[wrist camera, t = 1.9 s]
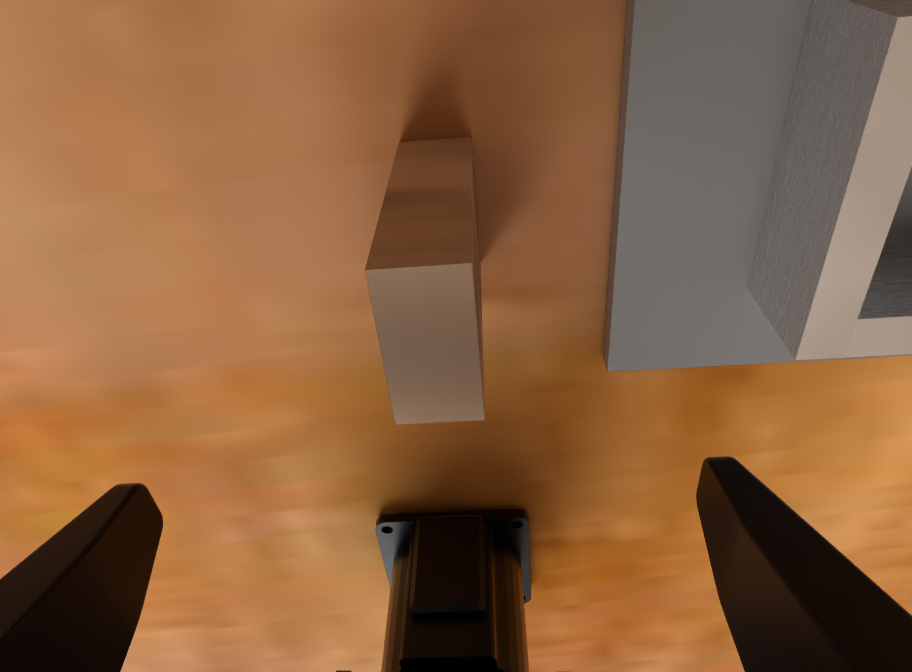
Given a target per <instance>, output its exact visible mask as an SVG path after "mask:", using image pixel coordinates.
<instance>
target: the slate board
mask: <svg viewBox="0 0 912 672" xmlns="http://www.w3.org/2000/svg"><path fill="white" fill-rule="evenodd" d="M809 5H810V0H627V13H626V28H625V43H624V58H623V73H622V88H621V103H620V117H619V132H618V147H617V162H616V177H615V192H614V207H613V221H612V236H611V251H610V266H609V281H608V296H607V311H606V325H605V340H604V355H603V358H604V361H605V365H606V368H607V372H616V371H634V370H652V369H671V368H689V367H707V366H726V365H744V364H762V363H781V362H799V361H817V360H836V359H854V358H872V357H891V356H909V355H912V354H902V355H884V356H865V357H847V358H829V359H810V360H795V359H794V358H793V356H792V355H791V353H790V352H789V350H788V349H787V347H786V346H785V344H784V343H783V341H782V340H781V338H780V337H779V335H778V334H777V332H776V331H775V329H774V328H773V326H772V325H771V324H770V322H769V321H768V319H767V318H766V316H765V315H764V313H763V312H762V310H761V309H760V307H759V306H758V304H757V303H756V301H755V300H754V298H753V297H752V295H751V294H750V292H749V291H748V289H747V285H748V280H749V276H750V271H751V267H752V262H753V258H754V253H755V249H756V244H757V240H758V235H759V231H760V226H761V222H762V217H763V213H764V208H765V204H766V199H767V195H768V190H769V186H770V181H771V177H772V172H773V167H774V163H775V158H776V154H777V149H778V145H779V140H780V136H781V131H782V127H783V122H784V118H785V113H786V109H787V104H788V100H789V95H790V91H791V86H792V82H793V77H794V73H795V68H796V64H797V59H798V54H799V50H800V45H801V41H802V36H803V32H804V27H805V23H806V18H807V14H808V9H809ZM905 243H912V167H911V170H910V173H909V176H908V178H907V181H906V184H905V187H904V190H903V192H902V195H901V198H900V201H899V204H898V206H897V209H896V212H895V215H894V218H893V221H892V223H891V226H890V229H889V232H888V235H887V237H886V240H885V243H884V245H890V244H905Z"/></svg>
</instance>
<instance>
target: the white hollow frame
mask: <svg viewBox="0 0 912 672" xmlns="http://www.w3.org/2000/svg"><path fill="white" fill-rule="evenodd" d="M911 167H912V0H810V5H809V9H808V14H807V18H806V23H805V27H804V32H803V36H802V41H801V45H800V50H799V54H798V59H797V64H796V68H795V73H794V77H793V82H792V86H791V91H790V95H789V100H788V104H787V109H786V113H785V118H784V122H783V127H782V131H781V136H780V140H779V145H778V149H777V154H776V158H775V163H774V167H773V172H772V177H771V181H770V186H769V190H768V195H767V199H766V204H765V208H764V213H763V217H762V222H761V226H760V231H759V235H758V240H757V244H756V249H755V253H754V258H753V262H752V267H751V271H750V276H749V280H748V285H747V289H748V291H749V292H750V294H751V295H752V297H753V298H754V300H755V301H756V303H757V304H758V306H759V307H760V309H761V310H762V312H763V313H764V315H765V316H766V318H767V319H768V321H769V322H770V324H771V325H772V326H773V328H774V329H775V331H776V332H777V334H778V335H779V337H780V338H781V340H782V341H783V343H784V344H785V346H786V347H787V349H788V350H789V352H790V353H791V355H792V356H793V358H794V359H795V360H810V359H829V358H847V357H865V356H884V355H902V354H912V243H905V244H890V245H884V243H885V240H886V237H887V235H888V232H889V229H890V226H891V223H892V221H893V218H894V215H895V212H896V209H897V206H898V204H899V201H900V198H901V195H902V192H903V190H904V187H905V184H906V181H907V178H908V176H909V173H910V170H911Z"/></svg>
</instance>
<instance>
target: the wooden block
mask: <svg viewBox="0 0 912 672" xmlns="http://www.w3.org/2000/svg"><path fill="white" fill-rule="evenodd" d="M365 273H366V278H367V283H368V288H369V293H370V298H371V303H372V308H373V313H374V319H375V324H376V329H377V334H378V339H379V344H380V349H381V354H382V359H383V364H384V369H385V374H386V379H387V384H388V389H389V394H390V399H391V404H392V409H393V414H394V419H395V424H396V425H398V424H418V423H438V422H458V421H478V420H485V415H484V377H483V340H482V302H481V264H480V250H479V236H478V222H477V208H476V194H475V181H474V167H473V153H472V139H471V136H470V137H457V138H444V139H432V140H419V141H407V142H399V145H398V149H397V152H396V156H395V160H394V164H393V167H392V171H391V175H390V179H389V182H388V186H387V190H386V193H385V197H384V201H383V205H382V208H381V212H380V216H379V220H378V223H377V227H376V231H375V234H374V238H373V242H372V246H371V249H370V253H369V257H368V261H367V264H366V268H365Z"/></svg>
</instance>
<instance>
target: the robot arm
mask: <svg viewBox="0 0 912 672" xmlns="http://www.w3.org/2000/svg"><path fill="white" fill-rule="evenodd" d="M696 500H697V507H698V512H699V516H700V520H701V525H702V529H703V533H704V537H705V541H706V546H707V550H708V554H709V558H710V563H711V567H712V571H713V575H714V580H715V584H716V588H717V592H718V596H719V600H720V603H721V606H722V609H723V612H724V615H725V618H726V620H727V623H728V626H729V629H730V632H731V634H732V637H733V640H734V643H735V645H736V648H737V651H738V654H739V657H740V659H741V662H742V665H743V668H744V671H745V672H912V615H911V614H909V613H908V612H907V611H906V610H905V609H904V608H903V607H902V606H900V605H899V604H898V603H897V602H896V601H895V600H894V599H893V598H891V597H890V596H889V595H888V594H887V593H886V592H885V591H884V590H882V589H881V588H880V587H879V586H878V585H877V584H876V583H875V582H873V581H872V580H871V579H870V578H869V577H868V576H867V575H866V574H864V573H863V572H862V571H861V570H860V569H859V568H858V567H857V566H855V565H854V564H853V563H852V562H851V561H850V560H849V559H848V558H846V557H845V556H844V555H843V554H842V553H841V552H840V551H839V550H837V549H836V548H835V547H834V546H833V545H832V544H831V543H830V542H828V541H827V540H826V539H825V538H824V537H823V536H822V535H821V534H819V533H818V532H817V531H816V530H815V529H814V528H813V527H812V526H810V525H809V524H808V523H807V522H806V521H805V520H804V519H803V518H801V517H800V516H799V515H798V514H797V513H796V512H795V511H794V510H792V509H791V508H790V507H789V506H788V505H787V504H786V503H785V502H783V501H782V500H781V499H780V498H779V497H778V496H777V495H776V494H774V493H773V492H772V491H771V490H770V489H769V488H768V487H766V486H765V485H764V484H763V483H762V482H761V481H760V480H759V479H757V478H756V477H755V476H754V475H753V474H752V473H751V472H750V471H748V470H747V469H746V468H745V467H744V466H743V465H742V464H741V463H739V462H738V461H737V460H736V459H734V458H732V457H708V458H706V459H705V460H704V461H703V464H702V468H701V473H700V478H699V483H698V487H697V493H696ZM162 528H163V518H162V514H161V512H160V510H159V508H158V506H157V505H156V503H155V501H154V499H153V497H152V496H151V494H150V492H149V490H148V489H147V487H146V486H145V485H143V484H142V483H127V484H118V485H116V486H114V487H113V488H111V489H110V490H109V491H107V492H106V493H105V494H104V495H103V496H101V497H100V498H99V499H98V500H96V501H95V502H94V503H93V504H92V505H90V506H89V507H88V508H87V509H85V510H84V511H83V512H82V513H81V514H79V515H78V516H77V517H76V518H74V519H73V520H72V521H71V522H70V523H68V524H67V525H66V526H65V527H63V528H62V529H61V530H60V531H59V532H57V533H56V534H55V535H54V536H52V537H51V538H50V539H49V540H48V541H46V542H45V543H44V544H43V545H41V546H40V547H39V548H38V549H37V550H35V551H34V552H33V553H32V554H30V555H29V556H28V557H27V558H26V559H24V560H23V561H22V562H21V563H19V564H18V565H17V566H16V567H15V568H13V569H12V570H11V571H10V572H8V573H7V574H6V575H5V576H3V577H2V578H1V579H0V672H120V671H121V668H122V665H123V663H124V660H125V657H126V655H127V652H128V649H129V646H130V644H131V641H132V638H133V635H134V633H135V630H136V627H137V624H138V621H139V618H140V614H141V611H142V607H143V604H144V600H145V596H146V592H147V588H148V584H149V580H150V576H151V572H152V568H153V564H154V560H155V556H156V552H157V548H158V545H159V541H160V537H161V533H162ZM376 534H377V538H378V542H379V546H380V549H381V553H382V557H383V561H384V565H385V569H386V572H387V576H388V580H389V584H390V588H391V589H390V598H389V606H388V615H387V624H386V633H385V642H384V651H383V660H382V669H381V672H529V664H528V650H527V637H526V624H525V610H524V603H527V602H529V601H530V599H531V580H530V544H529V519H528V514H527V513H526V512H525V511H522V510H517V509H514V510H490V511H465V512H441V513H416V514H392V515H382V516H380V517H379V518H378V519H377V522H376ZM336 672H351V671H336Z"/></svg>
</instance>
